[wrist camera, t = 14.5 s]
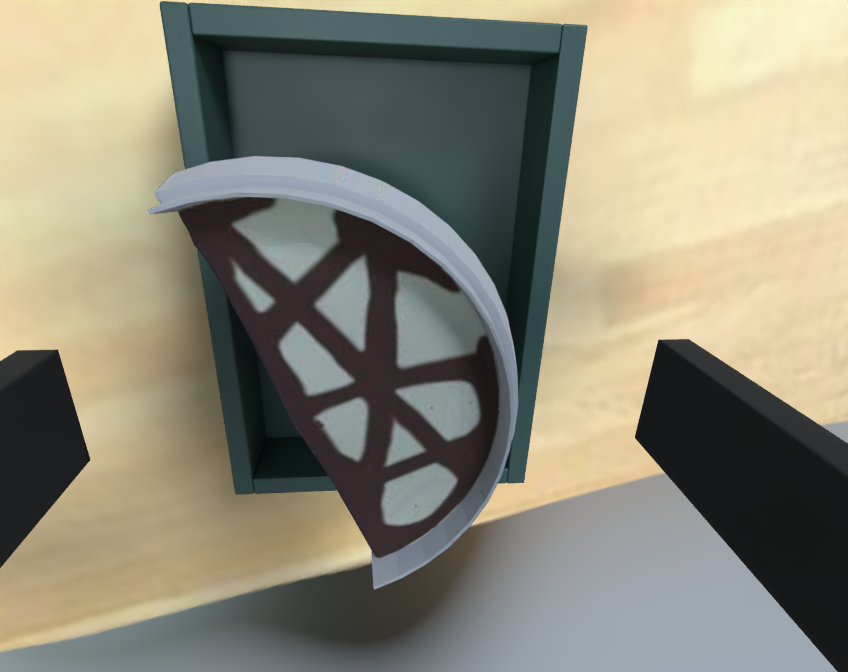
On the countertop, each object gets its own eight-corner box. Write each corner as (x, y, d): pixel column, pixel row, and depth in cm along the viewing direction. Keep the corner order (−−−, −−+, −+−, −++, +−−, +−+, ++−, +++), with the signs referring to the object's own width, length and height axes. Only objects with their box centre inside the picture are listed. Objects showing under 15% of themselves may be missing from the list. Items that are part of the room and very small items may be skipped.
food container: (498, 369, 23) (585, 531, 14) (377, 413, 23) (381, 602, 14) (406, 93, 18) (443, 56, 9) (252, 155, 18) (130, 182, 9)
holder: (253, 444, 24) (234, 495, 20) (199, 25, 17) (157, -1, 14) (504, 436, 25) (524, 483, 22) (549, 44, 18) (588, 24, 15)
